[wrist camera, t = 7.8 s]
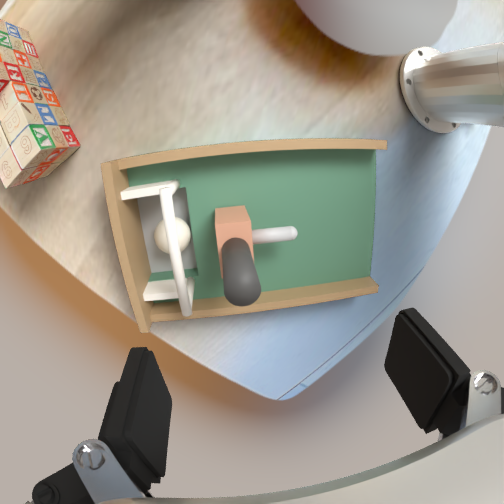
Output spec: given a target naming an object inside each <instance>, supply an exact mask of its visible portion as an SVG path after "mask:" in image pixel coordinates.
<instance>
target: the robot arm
mask: <svg viewBox="0 0 504 504" xmlns="http://www.w3.org/2000/svg"><path fill="white" fill-rule="evenodd" d="M400 85H401V89H402V94H403V96H404V99H405V102H406V104H407V106H408V108H409V110H410V111H411V113H412V114H413V116H414V117H415V118H416V119H417V121H418V122H419V123H420V124H422V125H423V126H424V127H425V128H427V129H429V130H431V131H433V132H437V133H450V132H452V131H454V130H456V129H457V128H458V127H459V126H460V124H461V123H468V124H480V125H491V126H500V127H504V42H499V43H492V44H486V45H479V46H474V47H468V48H463V49H458V50H454V51H449V52H445V53H441V52H440V51H438V50H436V49H434V48H430V47H419V48H416V49H413V50H411V51H410V52H409V53H408V54H407V55H406V56H405V57H404V59H403V61H402V64H401V68H400ZM384 366H385V370H386V372H387V374H388V376H389V377H390V379H391V380H392V382H393V384H394V385H395V387H396V389H397V390H398V392H399V394H400V395H401V397H402V399H403V400H404V402H405V404H406V406H407V407H408V409H409V410H410V412H411V414H412V416H413V417H414V419H415V421H416V423H417V424H418V426H419V427H420V428H421V429H424V431H425V433H426V434H427V433H429V432H431V431H433V430H436V429H437V428H438V430H439V432H440V434H439V438H438V442H436V443H434V444H432V445H430V446H427V447H425V448H423V449H421V450H419V451H416V452H414V453H412V454H410V455H407V456H405V457H402V458H400V459H398V460H395V461H392V462H390V463H387V464H384V465H382V466H379V467H376V468H373V469H370V470H367V471H364V472H361V473H358V474H354V475H351V476H348V477H344V478H340V479H337V480H333V481H330V482H325V483H321V484H317V485H312V486H307V487H302V488H297V489H292V490H287V491H280V492H273V493H267V494H258V495H249V496H237V497H221V498H220V497H219V498H155V497H154V496H153V495H152V494H151V492H150V491H149V489H150V488H151V483H160V479H161V477H164V476H165V470H166V458H167V447H168V437H169V427H170V418H171V409H172V399H171V396H170V393H169V391H168V388H167V386H166V384H165V381H164V379H163V376H162V374H161V371H160V369H159V366H158V364H157V362H156V359H155V356H154V354H153V352H152V351H148V349H147V347H136V348H131V350H130V352H129V355H128V358H127V361H126V364H125V367H124V370H123V373H122V376H121V379H120V382H116V383H115V384H114V387H113V390H112V393H111V396H110V399H109V402H108V405H107V409H106V412H105V416H104V419H103V422H102V426H101V429H100V433H99V436H98V440H96V439H89V440H85V441H83V442H81V443H80V444H78V446H77V447H76V448H75V449H74V452H73V458H72V460H73V463H72V464H70V465H68V466H66V467H65V468H63V469H61V470H59V471H58V472H56V473H54V474H52V475H51V476H49V477H47V478H45V479H43V480H42V481H40V482H39V483H37V484H36V485H35V487H34V489H33V492H32V499H33V501H32V502H31V503H30V502H29V501H27V502H26V503H25V504H504V388H502V387H501V385H500V381H499V379H498V378H497V377H496V376H495V375H494V374H493V373H491V372H489V371H486V370H480V371H477V372H475V373H474V374H473V375H472V376H471V375H470V373H469V372H470V369H469V368H468V367H467V366H466V364H465V363H464V362H463V361H462V360H461V359H460V358H459V356H458V355H457V354H456V353H455V352H454V351H453V349H452V348H451V347H450V346H449V345H448V344H447V343H446V342H445V340H444V339H443V338H442V337H441V336H440V335H439V334H438V333H437V332H436V331H435V329H434V328H433V327H432V326H431V325H430V324H429V323H428V322H427V321H426V320H425V319H424V318H423V317H422V316H421V315H420V313H419V312H417V310H416V309H414V308H409V309H405V310H401V311H400V312H399V314H398V315H397V316H396V318H395V322H394V327H393V331H392V336H391V340H390V344H389V348H388V352H387V356H386V359H385V364H384Z"/></svg>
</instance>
